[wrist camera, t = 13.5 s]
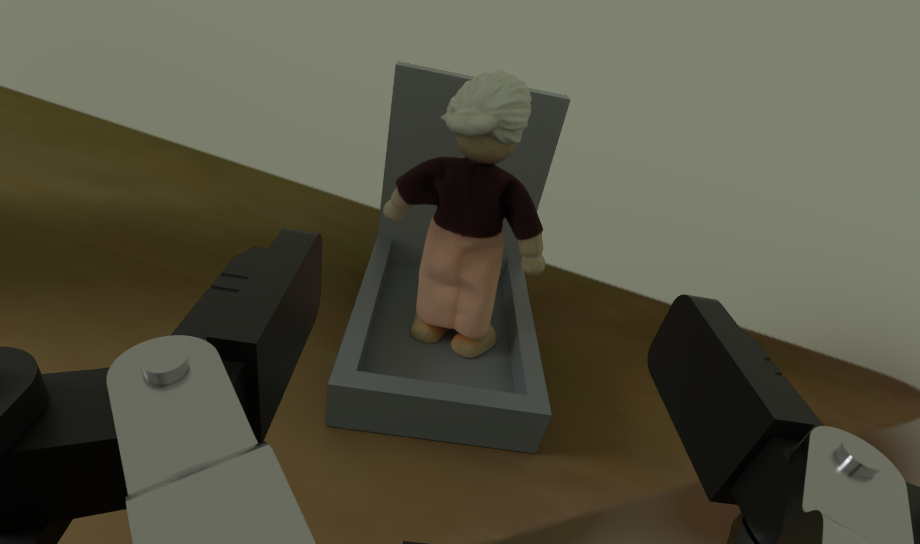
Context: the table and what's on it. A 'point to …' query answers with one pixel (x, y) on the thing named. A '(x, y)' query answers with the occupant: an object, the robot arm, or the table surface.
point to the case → (396, 288)
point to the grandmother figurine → (471, 214)
